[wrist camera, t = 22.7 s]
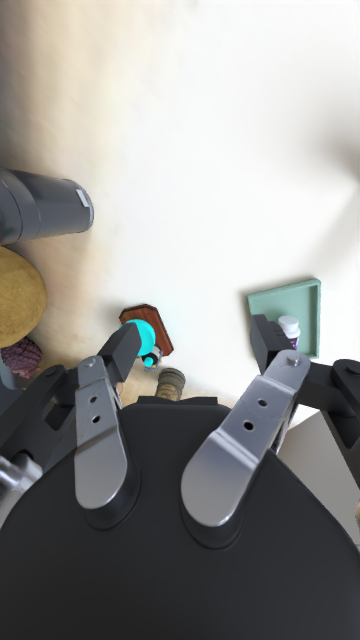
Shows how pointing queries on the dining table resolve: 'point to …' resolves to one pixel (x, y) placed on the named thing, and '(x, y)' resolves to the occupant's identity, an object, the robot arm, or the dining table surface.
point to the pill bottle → (290, 329)
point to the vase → (19, 297)
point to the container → (170, 384)
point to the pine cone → (22, 357)
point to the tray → (293, 310)
